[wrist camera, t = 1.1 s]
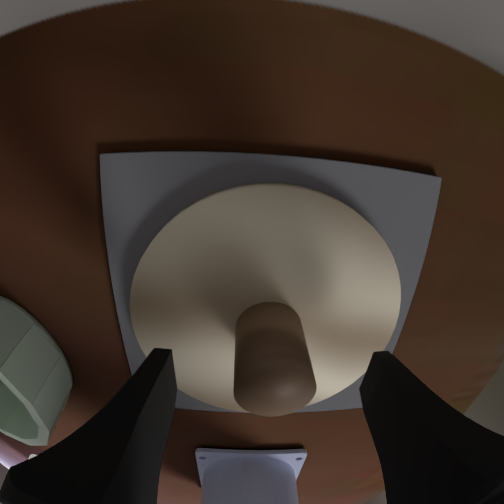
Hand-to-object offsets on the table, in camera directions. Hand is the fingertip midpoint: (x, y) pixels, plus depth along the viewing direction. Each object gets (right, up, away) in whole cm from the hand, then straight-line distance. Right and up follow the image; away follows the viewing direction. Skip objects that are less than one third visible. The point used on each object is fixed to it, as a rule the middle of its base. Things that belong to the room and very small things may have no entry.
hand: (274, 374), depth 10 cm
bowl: (-16, -2, +5) cm, 17 cm away
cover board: (0, +1, +3) cm, 4 cm away
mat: (0, +2, +4) cm, 4 cm away
